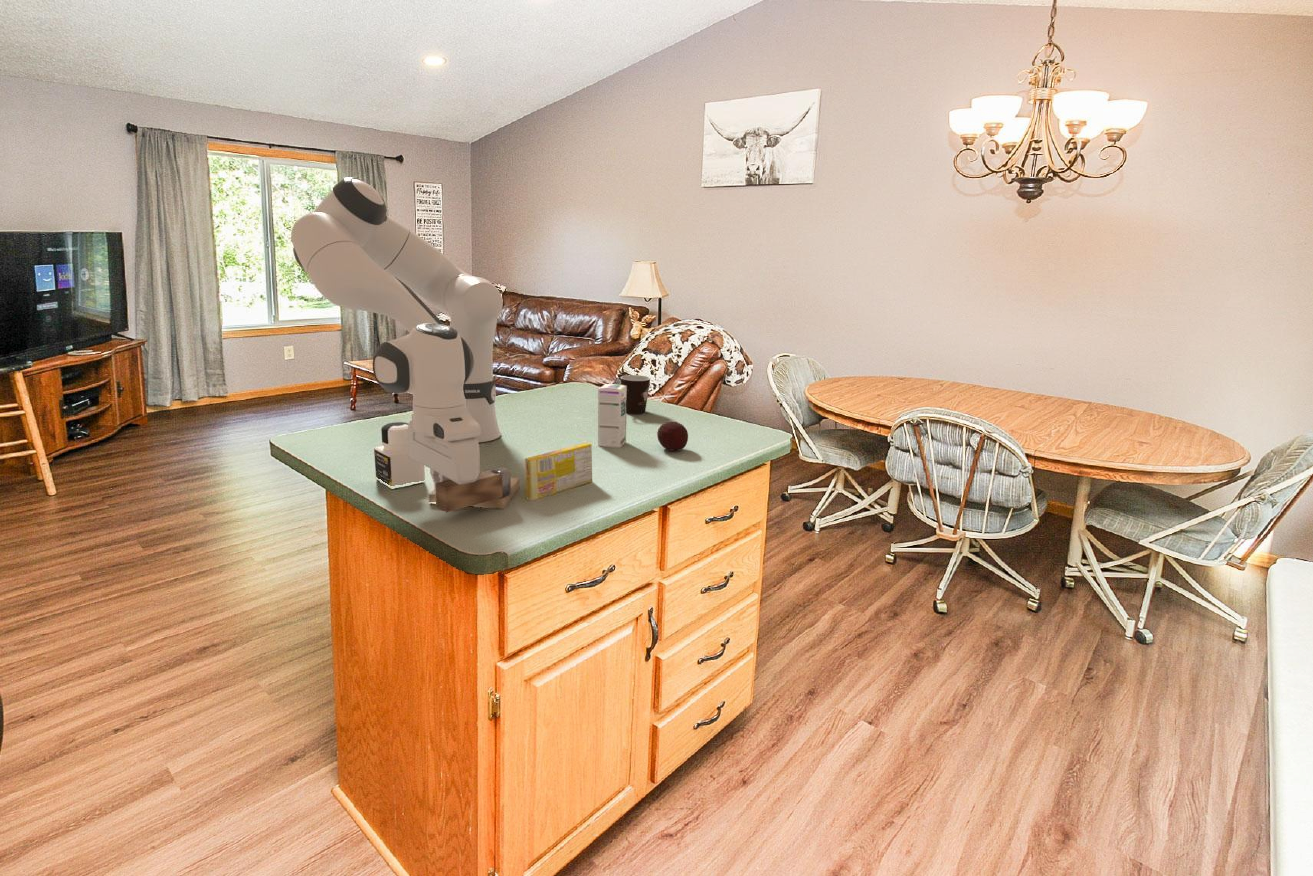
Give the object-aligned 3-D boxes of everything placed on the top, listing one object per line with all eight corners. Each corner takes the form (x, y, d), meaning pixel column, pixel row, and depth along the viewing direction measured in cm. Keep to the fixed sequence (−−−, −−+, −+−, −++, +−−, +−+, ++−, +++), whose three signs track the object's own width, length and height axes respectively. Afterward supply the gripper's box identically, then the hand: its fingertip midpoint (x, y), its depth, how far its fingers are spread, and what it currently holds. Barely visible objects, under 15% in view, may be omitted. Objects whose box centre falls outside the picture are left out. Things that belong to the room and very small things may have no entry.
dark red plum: (673, 456, 171) (675, 427, 170) (650, 449, 177) (651, 420, 175) (694, 450, 177) (695, 422, 175) (670, 443, 182) (672, 416, 180)
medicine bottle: (375, 481, 147) (371, 423, 144) (409, 474, 152) (406, 418, 149) (391, 490, 142) (387, 430, 139) (425, 483, 147) (423, 425, 144)
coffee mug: (636, 407, 219) (637, 374, 216) (655, 413, 212) (656, 379, 210) (605, 411, 212) (605, 377, 209) (623, 417, 205) (624, 382, 203)
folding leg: (503, 489, 139) (502, 466, 138) (514, 494, 136) (514, 471, 135) (435, 507, 129) (434, 482, 127) (447, 512, 126) (446, 488, 125)
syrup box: (620, 448, 176) (622, 389, 172) (596, 446, 177) (597, 387, 173) (626, 442, 182) (627, 384, 178) (603, 440, 183) (604, 382, 179)
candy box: (585, 480, 153) (586, 441, 151) (593, 482, 152) (593, 444, 149) (524, 498, 141) (524, 457, 139) (531, 501, 140) (531, 459, 138)
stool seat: (429, 504, 136) (428, 494, 135) (451, 483, 147) (450, 473, 147) (503, 509, 135) (503, 498, 134) (519, 487, 146) (519, 478, 146)
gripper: (396, 409, 132) (399, 481, 136) (451, 434, 118) (453, 514, 122) (429, 404, 137) (431, 475, 140) (486, 429, 122) (487, 506, 126)
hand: (442, 493), depth 131 cm, fingers closed
